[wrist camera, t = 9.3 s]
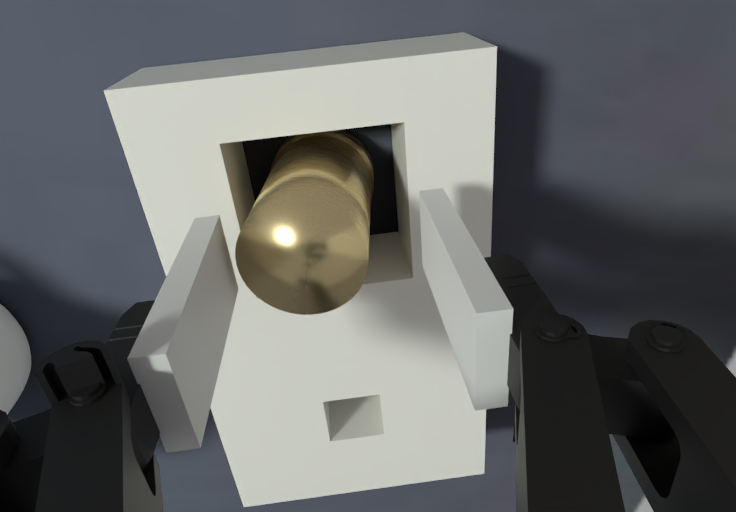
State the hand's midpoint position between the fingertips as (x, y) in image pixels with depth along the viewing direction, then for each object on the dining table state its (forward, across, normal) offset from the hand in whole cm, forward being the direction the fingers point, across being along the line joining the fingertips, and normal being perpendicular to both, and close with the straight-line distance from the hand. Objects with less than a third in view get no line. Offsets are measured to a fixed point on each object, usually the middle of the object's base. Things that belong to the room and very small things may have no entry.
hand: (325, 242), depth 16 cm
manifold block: (+6, 0, +5) cm, 8 cm away
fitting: (+6, 0, 0) cm, 6 cm away
